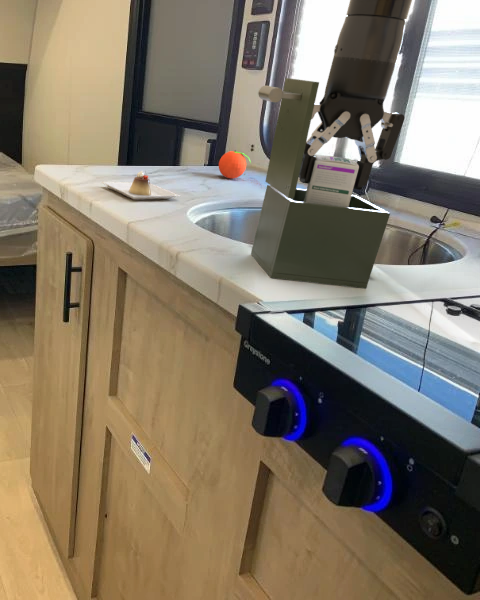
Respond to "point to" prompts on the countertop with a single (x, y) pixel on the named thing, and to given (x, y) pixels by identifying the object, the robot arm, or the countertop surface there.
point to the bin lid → (289, 131)
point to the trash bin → (318, 239)
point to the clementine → (232, 164)
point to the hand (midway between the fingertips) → (330, 185)
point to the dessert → (140, 189)
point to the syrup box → (332, 181)
